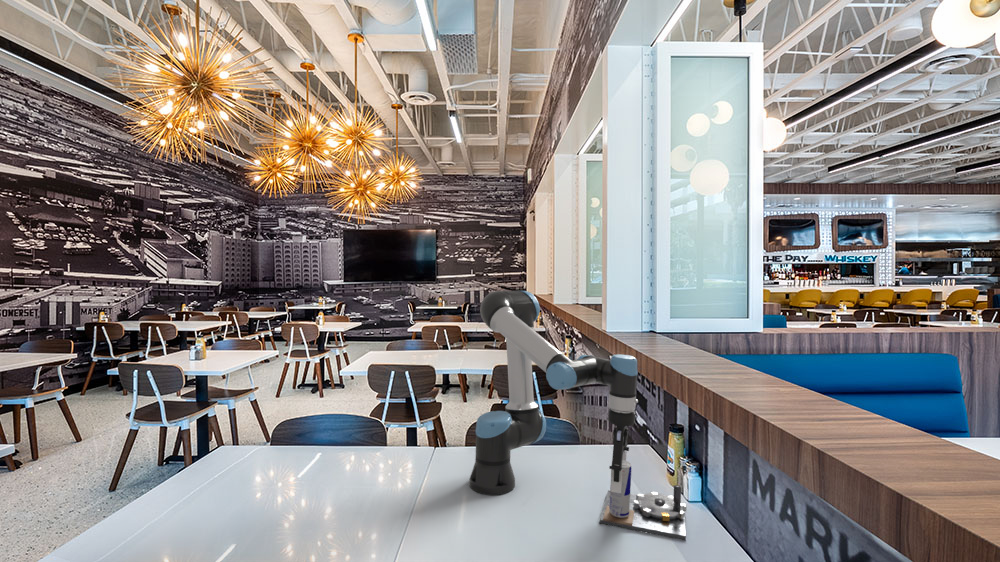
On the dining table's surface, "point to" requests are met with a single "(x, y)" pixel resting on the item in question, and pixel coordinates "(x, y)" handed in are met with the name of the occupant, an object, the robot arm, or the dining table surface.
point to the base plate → (648, 522)
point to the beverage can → (621, 500)
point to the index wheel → (661, 505)
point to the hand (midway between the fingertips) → (618, 481)
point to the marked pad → (611, 518)
